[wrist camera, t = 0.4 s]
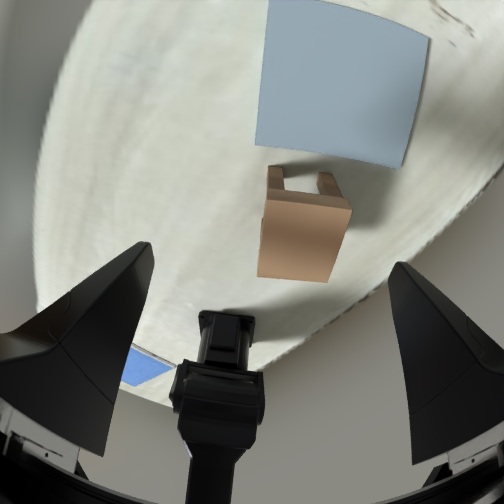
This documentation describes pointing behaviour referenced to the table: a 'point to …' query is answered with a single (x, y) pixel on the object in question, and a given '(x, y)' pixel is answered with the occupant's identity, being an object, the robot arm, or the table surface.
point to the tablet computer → (143, 366)
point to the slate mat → (338, 82)
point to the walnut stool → (301, 229)
